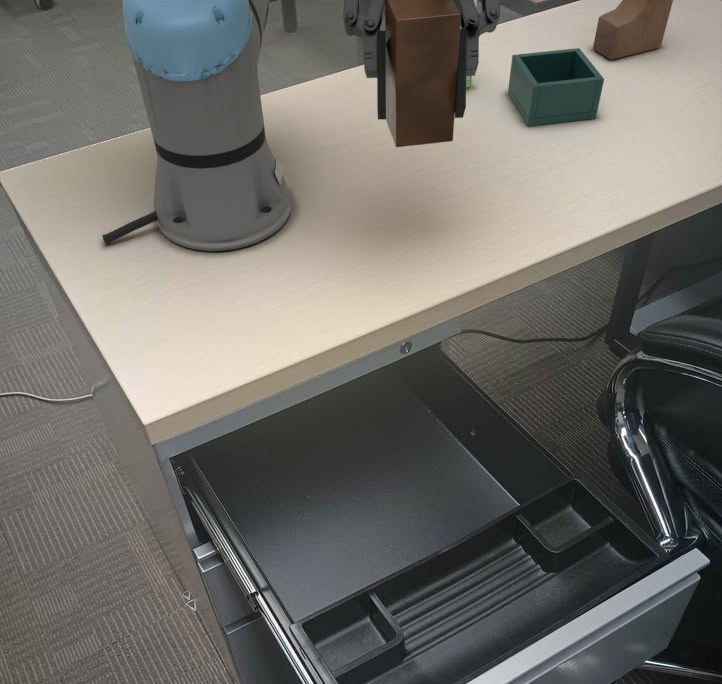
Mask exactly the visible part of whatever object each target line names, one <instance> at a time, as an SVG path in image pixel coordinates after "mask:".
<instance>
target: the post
mask: <svg viewBox="0 0 722 684" xmlns="http://www.w3.org/2000/svg"><path fill="white" fill-rule="evenodd" d="M384 20H385V22H384V29H385V30H384V31H386V119H385V121H386V124H387V126H388V130H389V132H390V135H391V137H392V141H393V144H394V145H395V148H404V147H405V148H406V147H414V146H421V145H431V144H439V143H449V142H453V141H454V129H455V99H456V84H457V68H458V55H459V39H460V24H461V13H460V12H459V10H458V8H457V7H456V5H455V3H454V1H453V0H385V16H384Z"/></svg>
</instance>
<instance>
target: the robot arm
mask: <svg viewBox="0 0 722 684" xmlns="http://www.w3.org/2000/svg"><path fill="white" fill-rule="evenodd" d="M453 1H454V3H455V5H456V7H457V8H458V10H459V12H460V13H461V24H460V27H461V29H460V39H459V55H458V68H457V84H456V99H455V116H454V119H463V118H464V116H465V111H466V107H467V87H466V76H473V77H475V75H476V74H477V71H478V67H479V63H480V61H479V60H480V59H479V57H480V55H479V54H480V53H479V52H480V46H479V45H480V37H481V35H483V34H485V33H488V34H489V33H493V32H495V30H496V29H497V26H498V23H499V20H500V16H501V4H500V3H501V1H500V0H480V3H481V12H478V10H477V5H476V6H475V3H474V0H453ZM121 7H122V15H123V20H124V24H123V27H124V35H125V38H126V44H127V46H128V49H129V51H130V53H131V57H132V60H133V65H134V68H135V73H136V76H137V80H138V84H139V88H140V92H141V96H142V99H143V100H142V101H143V103H144V107H145V112H146V116H147V119H148V123H149V128H150V132H151V135H152V138H153V143H154V147H155V151H156V167H155V181H154V193H153V210H154V211H153V212H150V213H148V214H145V215H144V216H141V217H138V218H137V219H135V220H133V221H130V222H128V223H125V224H124V225H122V226H120V227H118V228H115V229H114V230H112V231H109V232H108V233H104V234H102V235H101V236H102V239H103V242H104V244H110V243H112V242H115V241H116V240H119V239H120V238H123V237H125V236H126V235H128V234H131V233H133V232H135V231H137V230H139V229H141V228H144V227H146V226H148V225H150V224H152V223H153V224H154V222H156V223H157V227H158V228H159V230H160V231H161V233H162V235H164V237H166V238H167V240H170V241H171V242H173V243H175V244H176V245H178V246H181V247H184V248H187V249H191V250H197V251H206V252H222V251H229V250H230V251H231V250H237V249H241V248H246V247H249V246H252V245H255V244H258V243H259V242H262V241H263V240H266V239H268V238H269V237H270V236H272V235H274V234H275V233H277V232H278V231H279V230H280V229H281V228H282V227H283V226H284V225H285V223H286V222H287V221H288V219H289V216H290V214H291V210H292V209H291V208H292V205H291V196H290V195H291V194H290V191H289V187H288V183H287V181H286V179H285V177H284V175H283V173H284V172H283V171H284V168H283V165H282V163H281V161H280V159H279V156H277V157H276V158H275V156H274V154H273V151H272V150H271V147H270V146H269V144H268V140H267V136H266V135H267V134H266V129H265V121H264V113H263V112H264V111H263V104H262V96H261V90H260V81H259V68H258V67H259V59H260V53H261V47H262V43H263V37H264V36H263V35H264V32H265V29H266V28H267V24H268V19H269V13H270V0H122V6H121ZM360 7H361V0H343V13H342V14H343V15H342V17H343V25H344V32H345V34H346V35H348V37H353V36H356V37H357V38H358V37H359V38H360V39H361V40H362V41H363V61H364V62H363V69H364V74H365V77H366V79H376V80H377V81H376V91H377V92H376V94H377V95H376V96H377V97H376V99H377V100H376V101H377V103H376V107H377V108H376V109H377V120H386V31H385V30H381V28H382V25H383V22H384V20H385V0H370V1H369V4H368V8H367V10H366V14H365V15H362V14H360V9H361V8H360Z"/></svg>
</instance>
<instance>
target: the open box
mask: <svg viewBox="0 0 722 684" xmlns="http://www.w3.org/2000/svg"><path fill="white" fill-rule="evenodd" d="M510 64H511V65H510V72H509V80H508V90H507V95H508V96H509V98H510V100H511V102H512V103H513V104H514V106H515V108H516V109H517V111H518V113H519V114H520V116H521V118H522V120H523V121H524V122H525V124H526V126H527V127H533V126H544V125H551V124H552V125H553V124H559V123H569V122H575V121H576V122H577V121H587V120H595V119H597V115H598V111H599V106H600V101H601V96H602V92H603V88H604V87H603V86H604V82H605V78H604V77H603V76H602V74H601V73H600V71H599V70H598V69H597V68H596V67H595V66H594V64H593V62H591V61H590V59H589V58H588V57H587V55H586V54H585V53H584V51H582V50H581V48H580V47H577V48H576V47H575V48H567V49H555V50H549V51H547V50H546V51H537V52H528V53H520V54H519V53H518V54H512V55H511V63H510Z"/></svg>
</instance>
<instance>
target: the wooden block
mask: <svg viewBox="0 0 722 684" xmlns="http://www.w3.org/2000/svg"><path fill="white" fill-rule="evenodd" d="M673 3H674V0H621V2H620V3H619V4H618V5H617V6H616V8H614V9H612V10H610V11H607V12H606V13H603V14H601V15H599V16H598V19H597V24H596V31H595V36H594V40H593V45H592V48H593V50H594V51H596V52H597V53H599V54H600V55H602V56H603V57H605V58H606V59H608V60H610V61H612V60H616V59H621V58H624V57H627V56H628V57H629V56H633V55H636V54H640V53H645V52H647V51H652V50H657V49H660V48H661V47H662V44H663V41H664V36H665V33H666V29H667V25H668V22H669V18H670V13H671V10H672V7H673Z"/></svg>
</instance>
